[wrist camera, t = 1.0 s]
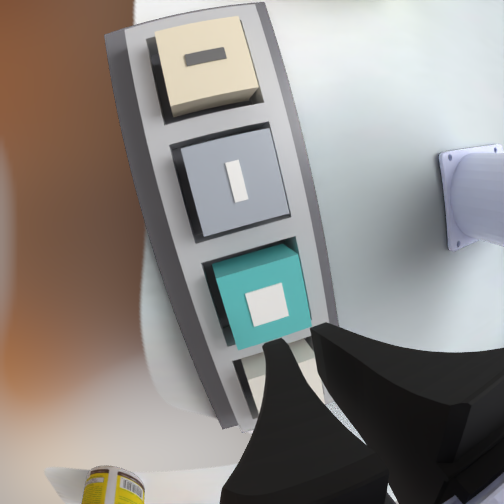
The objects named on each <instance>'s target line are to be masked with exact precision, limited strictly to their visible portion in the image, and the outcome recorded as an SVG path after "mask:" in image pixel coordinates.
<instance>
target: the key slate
mask: <svg viewBox="0 0 504 504" xmlns="http://www.w3.org/2000/svg"><path fill="white" fill-rule="evenodd" d="M181 152H182V156H183V160H184V164H185V167H186V171H187V175H188V179H189V183H190V187H191V191H192V194H193V198H194V202H195V206H196V209H197V213H198V217H199V220H200V224H201V228H202V231H203V235H204V237H205V236H209V235H212V234H216V233H219V232H223V231H227V230H230V229H234V228H237V227H241V226H245V225H248V224H252V223H255V222H259V221H263V220H266V219H270V218H274V217H278V216H281V215H285V214H289V209H288V205H287V200H286V196H285V191H284V187H283V183H282V178H281V174H280V170H279V166H278V161H277V157H276V153H275V149H274V145H273V141H272V137H271V133H270V129H269V128H267V129H262V130H257V131H252V132H247V133H243V134H238V135H234V136H229V137H225V138H221V139H217V140H213V141H208V142H205V143H201V144H197V145H193V146H189V147H185V148H182V149H181Z"/></svg>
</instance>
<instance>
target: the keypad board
mask: <svg viewBox="0 0 504 504" xmlns="http://www.w3.org/2000/svg"><path fill="white" fill-rule="evenodd" d="M233 16H239V19H240V22H241V26H242V29H243V32H244V36H245V39H246V43H247V46H248V50H249V53H250V57H251V61H252V64H253V68H254V71H255V75H256V79H257V82H258V86H259V87H258V89H257V90H256V91H255V92H254V94H253V95H252V96H251V97H250V99H249V100H247V101H242V102H237V103H232V104H227V105H222V106H218V107H213V108H209V109H205V110H200V111H196V112H192V113H188V114H184V115H181V116H177V117H173V114H172V110H171V106H170V102H169V97H168V93H167V89H166V84H165V80H164V75H163V70H162V66H161V61H160V57H159V52H158V47H157V42H156V37H155V32H156V31H160V30H164V29H168V28H172V27H176V26H181V25H186V24H191V23H196V22H201V21H207V20H213V19H219V18H226V17H233ZM104 37H105V44H106V51H107V57H108V63H109V70H110V75H111V81H112V87H113V92H114V97H115V103H116V108H117V112H118V117H119V122H120V126H121V131H122V136H123V140H124V144H125V149H126V153H127V157H128V161H129V165H130V169H131V173H132V177H133V181H134V185H135V189H136V192H137V196H138V199H139V203H140V207H141V211H142V214H143V218H144V221H145V224H146V228H147V231H148V234H149V238H150V241H151V244H152V247H153V251H154V254H155V257H156V260H157V263H158V266H159V269H160V272H161V275H162V278H163V281H164V284H165V287H166V290H167V293H168V296H169V299H170V302H171V304H172V307H173V310H174V313H175V315H176V318H177V321H178V324H179V326H180V329H181V332H182V334H183V337H184V339H185V342H186V345H187V347H188V350H189V352H190V355H191V357H192V360H193V362H194V365H195V367H196V370H197V372H198V374H199V377H200V379H201V382H202V384H203V386H204V389H205V391H206V393H207V396H208V398H209V400H210V402H211V405H212V407H213V409H214V411H215V414H216V416H217V418H218V420H219V422H220V425H221V427H222V429H225V428H229V427H233V426H237V425H239V427H240V429H241V432H242V433H243V432H247V431H251V430H254V428H255V425H256V422H257V419H258V416H259V412H258V410H257V407H256V404H255V401H254V398H253V395H252V392H251V389H250V386H249V383H248V380H247V377H246V374H245V371H244V367H243V364H242V361H241V358H245V357H248V356H251V355H254V354H258V353H261V352H263V349H262V346H263V345H264V343H266V342H264V343H261V344H258V345H255V346H251V347H248V348H245V349H242V350H238V349H237V346H236V343H235V339H234V336H233V333H232V330H231V327H230V323H229V320H228V317H227V314H226V310H225V307H224V304H223V301H222V297H221V294H220V290H219V287H218V284H217V280H216V277H215V273H214V270H213V266H212V264H213V263H217V262H220V261H224V260H227V259H231V258H234V257H238V256H241V255H245V254H248V253H251V252H255V251H258V250H262V249H265V248H269V247H272V246H276V245H279V244H284V245H285V246H287V247H288V248H290V249H291V250H293V251H294V252H296V253H297V254H298V256H299V261H300V266H301V271H302V276H303V281H304V286H305V291H306V296H307V302H308V307H309V312H310V318H311V323H312V327H314V326H317V325H319V324H322V323H325V322H327V323H330V324H333V325H335V326H338V327H339V325H338V318H337V311H336V304H335V297H334V291H333V284H332V278H331V272H330V266H329V260H328V254H327V248H326V243H325V237H324V232H323V227H322V221H321V216H320V211H319V206H318V201H317V196H316V192H315V187H314V182H313V177H312V173H311V168H310V164H309V160H308V155H307V151H306V147H305V142H304V138H303V134H302V130H301V126H300V122H299V118H298V114H297V110H296V106H295V103H294V99H293V95H292V91H291V88H290V84H289V80H288V77H287V73H286V70H285V66H284V63H283V59H282V56H281V53H280V49H279V46H278V43H277V40H276V36H275V33H274V30H273V27H272V24H271V21H270V18H269V14H268V11H267V8H266V5H265V3H264V2H259V3H247V4H238V5H229V6H222V7H215V8H209V9H202V10H197V11H191V12H186V13H181V14H177V15H172V16H168V17H163V18H159V19H155V20H151V21H148V22H144V23H140V24H137V25H133V26H130V27H127V28H123V29H121V30H117V31H114V32H111V33H108V34H105V35H104ZM267 128H269V129H270V133H271V137H272V141H273V145H274V149H275V153H276V157H277V161H278V166H279V170H280V174H281V178H282V183H283V187H284V191H285V196H286V200H287V205H288V209H289V214H285V215H281V216H278V217H274V218H270V219H266V220H263V221H259V222H255V223H252V224H248V225H245V226H241V227H237V228H234V229H230V230H227V231H223V232H219V233H216V234H212V235H209V236H205V237H204V235H203V231H202V228H201V224H200V220H199V217H198V213H197V209H196V206H195V202H194V198H193V194H192V191H191V187H190V183H189V179H188V175H187V171H186V167H185V164H184V160H183V156H182V152H181V149H182V148H185V147H189V146H193V145H197V144H201V143H205V142H208V141H213V140H217V139H221V138H225V137H229V136H234V135H238V134H243V133H247V132H252V131H257V130H262V129H267ZM310 328H311V327H309V328H306V329H303V330H301V331H298V332H295V333H292V334H289V335H286V336H283V337H280V338H282V339H284V340H285V341H286V343H287V344H288V343H291V342H294V341H297V340H300V339H303V338H304V339H305V341H306V342H307V343H308V345H309V346H310V347H311V349H312V350H313V351H314V349H313V343H312V337H311V332H310ZM277 339H279V338H277ZM274 340H275V339H274ZM271 341H272V340H271ZM267 342H269V341H267ZM321 382H322V380H321ZM322 388H323V394H324V401H325V405H327V404H329V403H332V402H334V400H333V398H332V397H331V396H330V394H329V393H328V391H327V389H326V387H325V386H324V384H323V382H322Z"/></svg>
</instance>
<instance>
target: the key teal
mask: <svg viewBox="0 0 504 504" xmlns="http://www.w3.org/2000/svg"><path fill="white" fill-rule="evenodd" d="M212 266H213V270H214V273H215V277H216V280H217V284H218V287H219V290H220V294H221V297H222V301H223V304H224V307H225V310H226V314H227V317H228V320H229V323H230V327H231V330H232V333H233V336H234V339H235V343H236V346H237V349H238V350H242V349H245V348H248V347H251V346H255V345H258V344H261V343H264V342H267V341H271V340H274V339H277V338H280V337H283V336H286V335H289V334H292V333H295V332H298V331H301V330H303V329H306V328H309V327H312V323H311V318H310V312H309V307H308V302H307V296H306V291H305V286H304V281H303V276H302V271H301V266H300V261H299V256H298V254H297V253H296V252H294V251H293V250H291V249H290V248H288V247H287V246H285V245H284V244H279V245H276V246H272V247H269V248H265V249H262V250H258V251H255V252H251V253H248V254H245V255H241V256H238V257H234V258H231V259H227V260H224V261H220V262H217V263H213V264H212Z"/></svg>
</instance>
